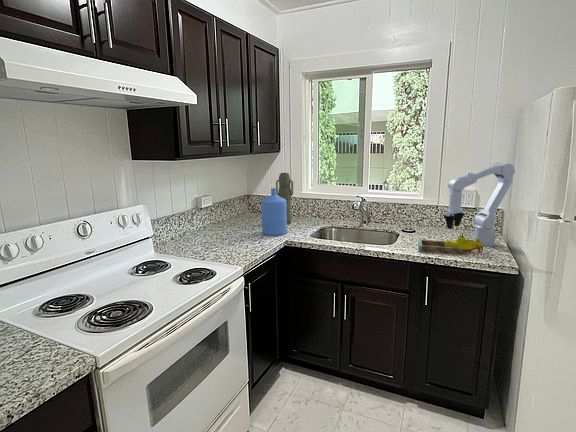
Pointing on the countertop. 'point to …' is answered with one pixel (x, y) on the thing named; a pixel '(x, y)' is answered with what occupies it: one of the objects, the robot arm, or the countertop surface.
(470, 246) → the yellow piece
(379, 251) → the countertop surface
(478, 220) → the robot arm
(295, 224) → the countertop surface
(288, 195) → the thermos
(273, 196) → the water jug
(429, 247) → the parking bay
